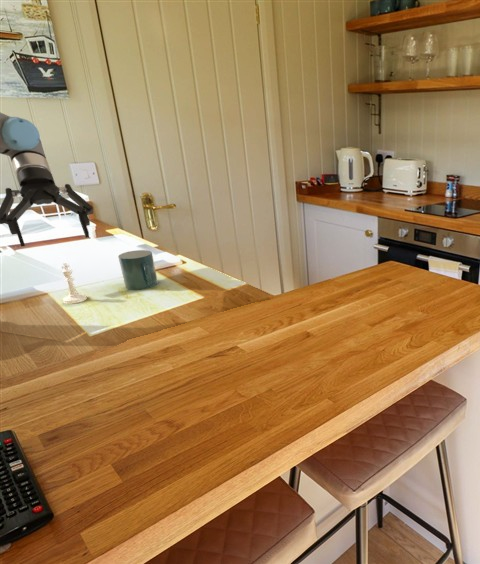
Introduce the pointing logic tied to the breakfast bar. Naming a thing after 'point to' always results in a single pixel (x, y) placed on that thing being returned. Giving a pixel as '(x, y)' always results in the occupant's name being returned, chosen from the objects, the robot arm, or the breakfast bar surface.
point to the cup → (138, 269)
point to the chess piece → (71, 288)
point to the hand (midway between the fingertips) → (56, 239)
